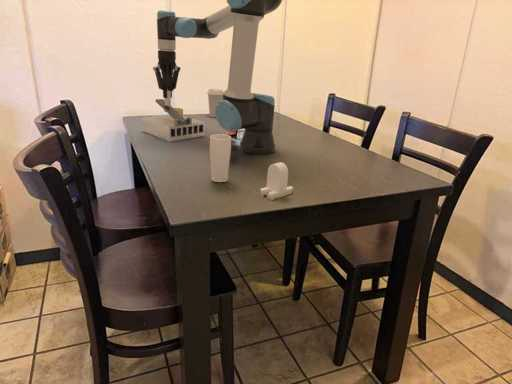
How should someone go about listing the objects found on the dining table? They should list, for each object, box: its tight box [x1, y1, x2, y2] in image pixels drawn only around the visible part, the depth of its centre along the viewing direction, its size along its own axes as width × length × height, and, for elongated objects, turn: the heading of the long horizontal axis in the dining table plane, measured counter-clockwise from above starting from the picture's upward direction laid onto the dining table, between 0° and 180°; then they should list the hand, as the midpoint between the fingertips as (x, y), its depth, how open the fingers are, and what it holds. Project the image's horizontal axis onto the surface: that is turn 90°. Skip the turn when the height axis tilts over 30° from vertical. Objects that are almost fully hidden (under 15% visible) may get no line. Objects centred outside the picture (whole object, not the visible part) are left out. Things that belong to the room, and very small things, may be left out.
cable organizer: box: [259, 161, 294, 197], centre depth 117 cm, size 5×10×10 cm, turn 133°
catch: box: [163, 107, 184, 116], centre depth 185 cm, size 4×8×3 cm, turn 135°
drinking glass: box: [209, 133, 232, 183], centre depth 124 cm, size 7×7×15 cm
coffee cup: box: [206, 88, 224, 118], centre depth 219 cm, size 10×10×15 cm
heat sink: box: [141, 114, 205, 143], centre depth 178 cm, size 22×19×9 cm
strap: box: [154, 98, 188, 125], centre depth 174 cm, size 21×4×2 cm, turn 45°
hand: (167, 105), depth 175 cm, fingers closed
